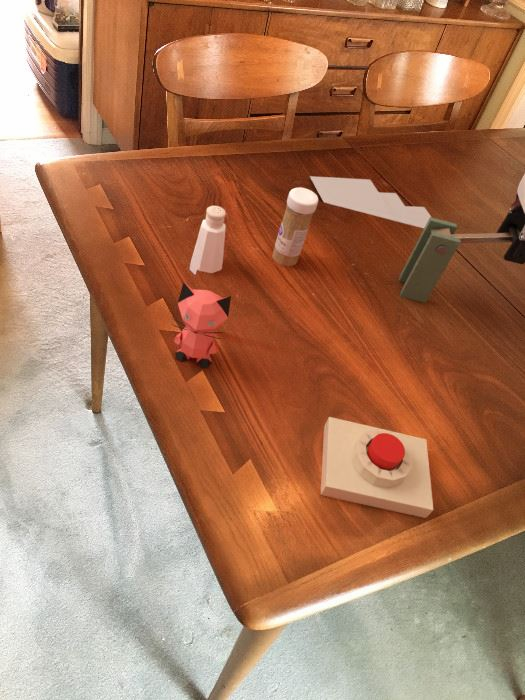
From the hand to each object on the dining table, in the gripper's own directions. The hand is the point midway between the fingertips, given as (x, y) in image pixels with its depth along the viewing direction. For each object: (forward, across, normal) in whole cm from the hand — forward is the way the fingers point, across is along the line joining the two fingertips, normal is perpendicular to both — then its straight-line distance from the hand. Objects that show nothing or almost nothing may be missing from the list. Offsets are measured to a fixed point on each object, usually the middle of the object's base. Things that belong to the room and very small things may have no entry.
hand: (509, 247), depth 85 cm
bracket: (+13, 0, +11) cm, 17 cm away
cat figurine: (+13, -24, +43) cm, 51 cm away
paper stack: (+13, +22, +15) cm, 30 cm away
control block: (+14, -36, +18) cm, 42 cm away
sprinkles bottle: (+13, 0, +33) cm, 35 cm away
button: (+10, -36, +17) cm, 41 cm away
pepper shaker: (+13, -6, +45) cm, 47 cm away
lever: (+1, 0, +5) cm, 5 cm away
